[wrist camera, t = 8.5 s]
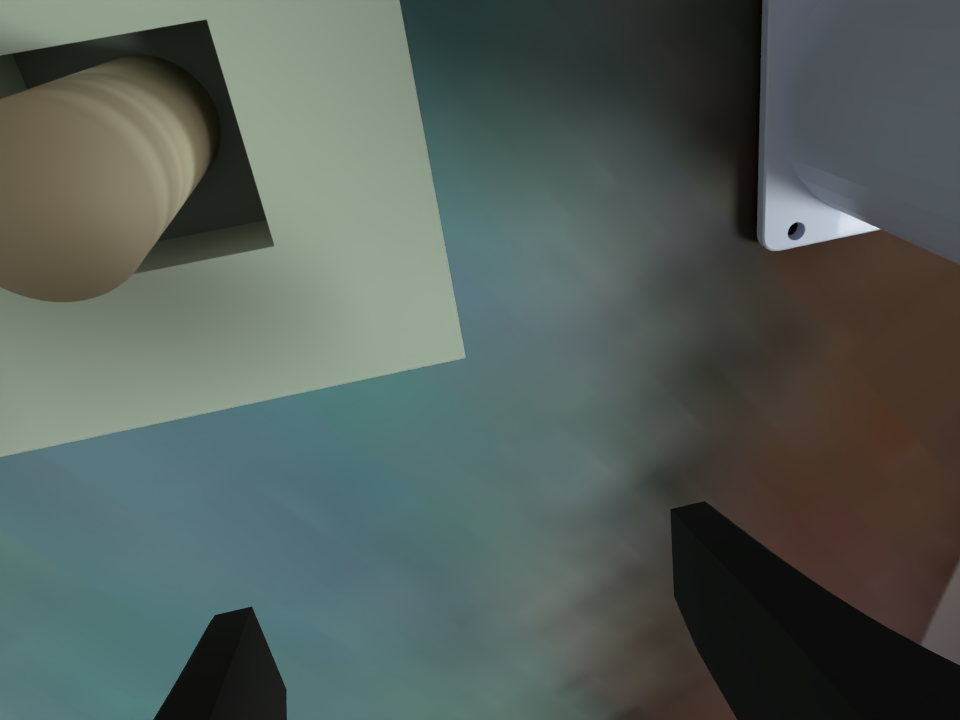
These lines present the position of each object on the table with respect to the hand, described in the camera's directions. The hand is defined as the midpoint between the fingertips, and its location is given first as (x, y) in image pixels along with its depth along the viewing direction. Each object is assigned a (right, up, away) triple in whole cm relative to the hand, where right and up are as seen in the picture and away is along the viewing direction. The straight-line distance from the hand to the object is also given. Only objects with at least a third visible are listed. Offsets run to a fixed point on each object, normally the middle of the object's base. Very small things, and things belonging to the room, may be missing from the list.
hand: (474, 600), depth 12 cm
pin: (-7, +9, +4) cm, 13 cm away
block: (-8, +9, +5) cm, 13 cm away
